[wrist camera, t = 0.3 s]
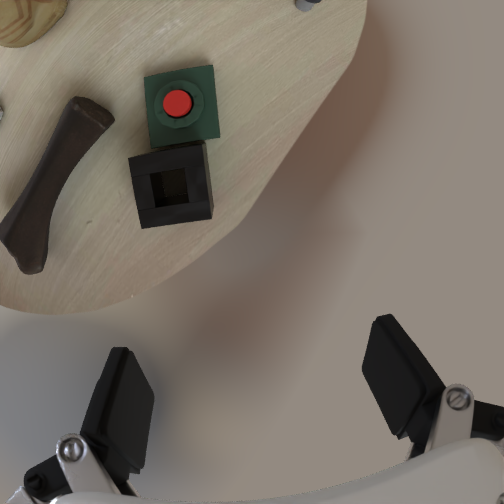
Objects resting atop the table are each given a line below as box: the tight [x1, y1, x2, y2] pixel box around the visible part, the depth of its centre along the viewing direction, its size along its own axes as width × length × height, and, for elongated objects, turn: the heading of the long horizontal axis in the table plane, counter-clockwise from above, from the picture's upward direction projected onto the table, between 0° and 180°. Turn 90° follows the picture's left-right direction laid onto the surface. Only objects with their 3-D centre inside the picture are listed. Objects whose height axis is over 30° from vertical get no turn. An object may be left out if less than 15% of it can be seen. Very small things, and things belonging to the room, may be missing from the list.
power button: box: [163, 90, 192, 117], centre depth 28 cm, size 3×3×2 cm
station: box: [144, 65, 220, 149], centre depth 30 cm, size 10×9×4 cm
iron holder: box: [128, 143, 214, 229], centre depth 33 cm, size 9×9×6 cm
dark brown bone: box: [0, 96, 115, 275], centre depth 31 cm, size 11×10×28 cm
